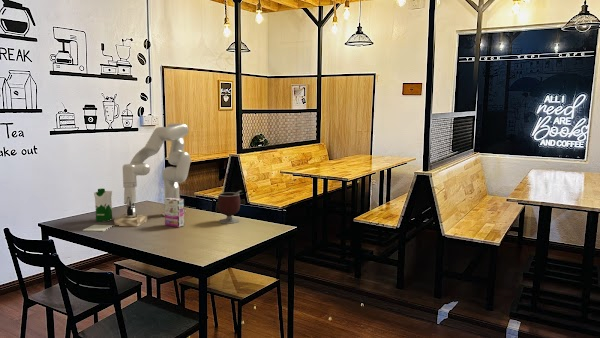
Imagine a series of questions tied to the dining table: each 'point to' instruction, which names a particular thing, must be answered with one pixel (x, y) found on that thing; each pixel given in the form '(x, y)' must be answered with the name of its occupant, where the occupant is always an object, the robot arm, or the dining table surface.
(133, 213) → the silver metal can
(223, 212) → the mate gourd
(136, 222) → the housing block
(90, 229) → the rubber mat
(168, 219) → the candy bar box
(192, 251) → the dining table surface
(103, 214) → the milk carton
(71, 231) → the dining table surface
